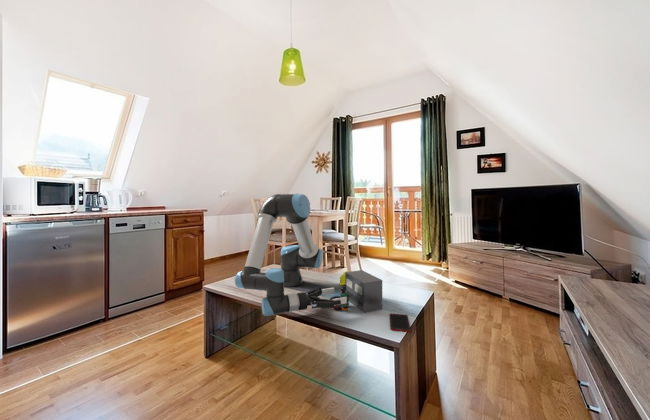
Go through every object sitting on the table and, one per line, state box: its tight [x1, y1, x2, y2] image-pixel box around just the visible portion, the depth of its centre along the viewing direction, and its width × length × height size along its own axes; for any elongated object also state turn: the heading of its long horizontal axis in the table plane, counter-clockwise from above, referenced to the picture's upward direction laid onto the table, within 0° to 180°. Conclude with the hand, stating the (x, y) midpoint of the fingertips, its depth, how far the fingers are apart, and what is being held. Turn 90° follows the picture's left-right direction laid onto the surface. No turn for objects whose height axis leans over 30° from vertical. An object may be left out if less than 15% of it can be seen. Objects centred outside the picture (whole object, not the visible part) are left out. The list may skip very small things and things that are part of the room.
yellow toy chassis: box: [339, 270, 350, 286], centre depth 155 cm, size 16×6×8 cm, turn 60°
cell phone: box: [389, 313, 412, 333], centre depth 110 cm, size 8×15×1 cm, turn 168°
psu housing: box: [344, 269, 383, 314], centre depth 130 cm, size 19×10×14 cm, turn 23°
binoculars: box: [329, 285, 350, 312], centre depth 125 cm, size 9×11×10 cm
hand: (339, 295), depth 125 cm, fingers open, 13 cm apart
